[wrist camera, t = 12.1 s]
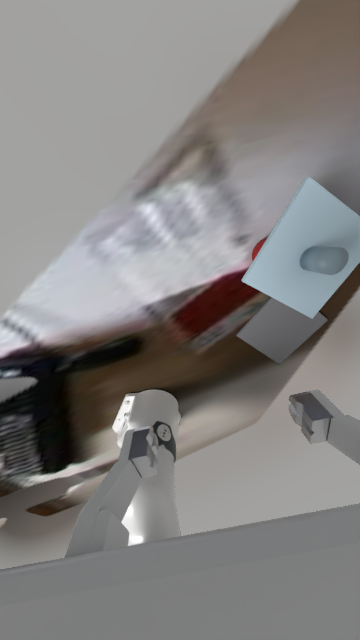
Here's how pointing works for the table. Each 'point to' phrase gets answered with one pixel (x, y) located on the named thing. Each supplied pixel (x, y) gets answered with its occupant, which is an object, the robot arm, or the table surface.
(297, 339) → the grey flat square plate
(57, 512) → the table surface
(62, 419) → the table surface
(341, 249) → the lid
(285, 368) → the table surface
